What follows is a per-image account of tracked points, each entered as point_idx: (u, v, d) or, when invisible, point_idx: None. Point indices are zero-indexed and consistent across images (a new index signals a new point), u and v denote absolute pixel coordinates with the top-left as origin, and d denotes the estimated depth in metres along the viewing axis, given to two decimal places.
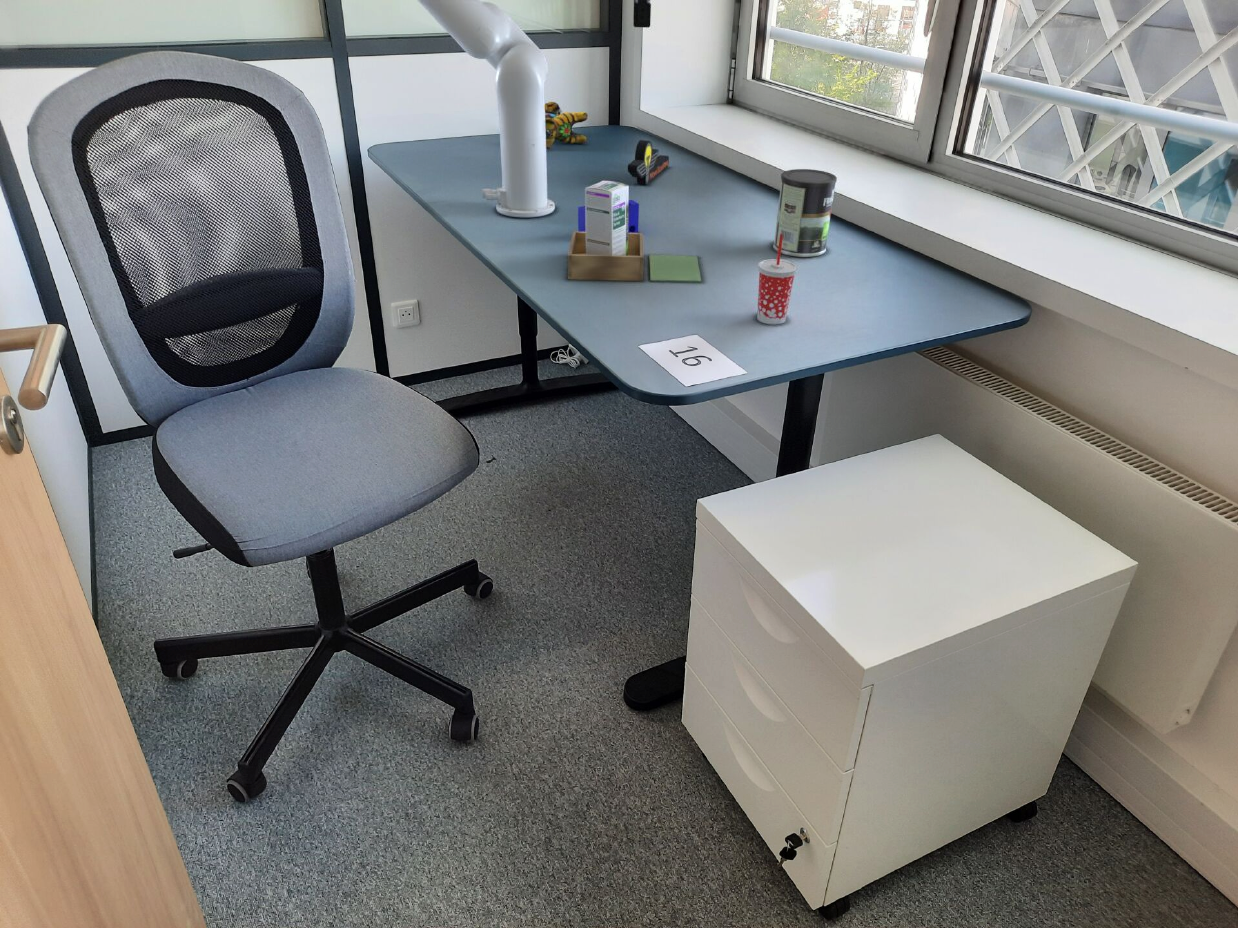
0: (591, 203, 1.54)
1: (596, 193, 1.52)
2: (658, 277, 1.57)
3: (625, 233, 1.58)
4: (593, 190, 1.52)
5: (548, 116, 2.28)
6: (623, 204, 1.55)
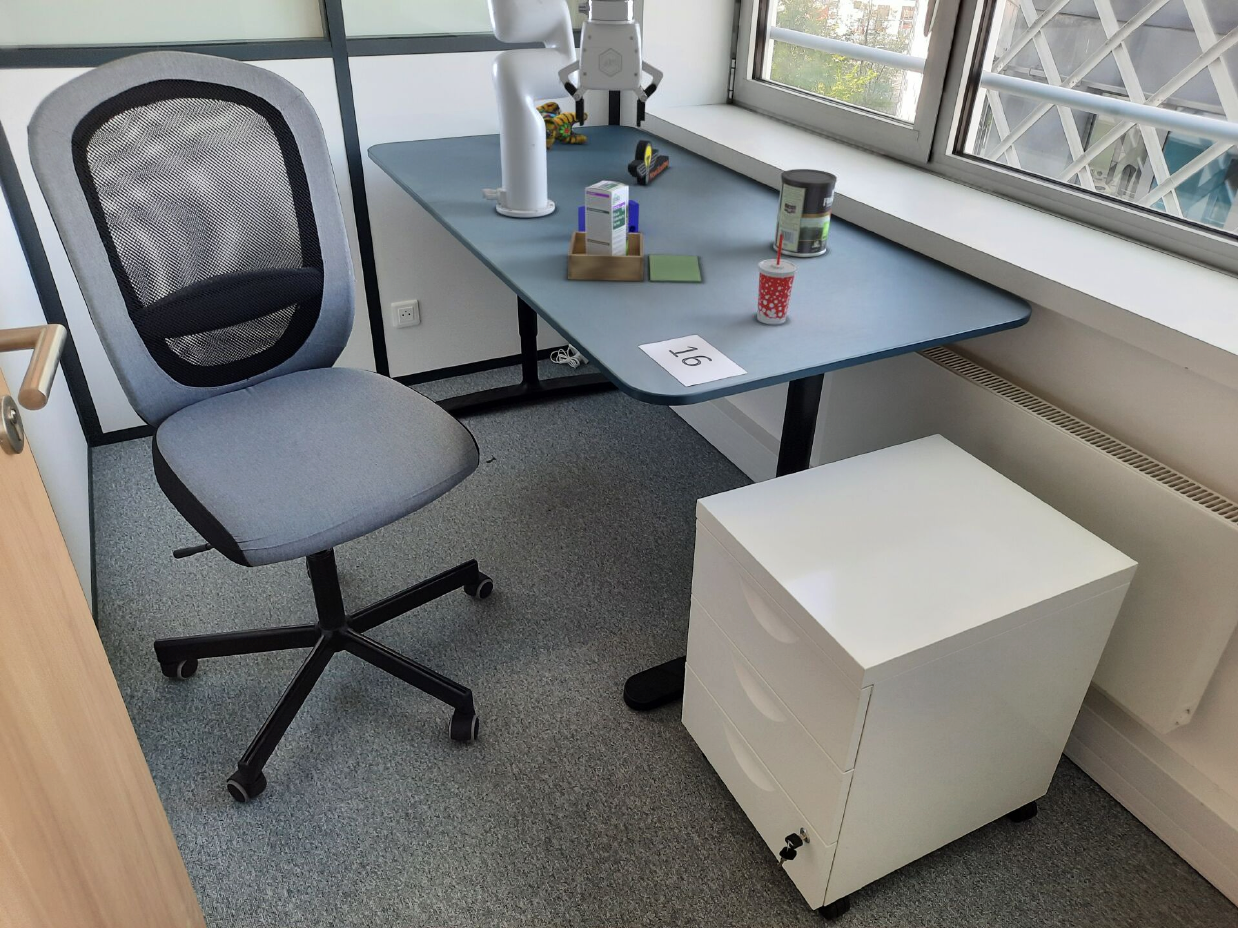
0: (591, 203, 1.54)
1: (596, 193, 1.52)
2: (658, 277, 1.57)
3: (625, 233, 1.58)
4: (593, 190, 1.52)
5: (548, 116, 2.28)
6: (623, 204, 1.55)
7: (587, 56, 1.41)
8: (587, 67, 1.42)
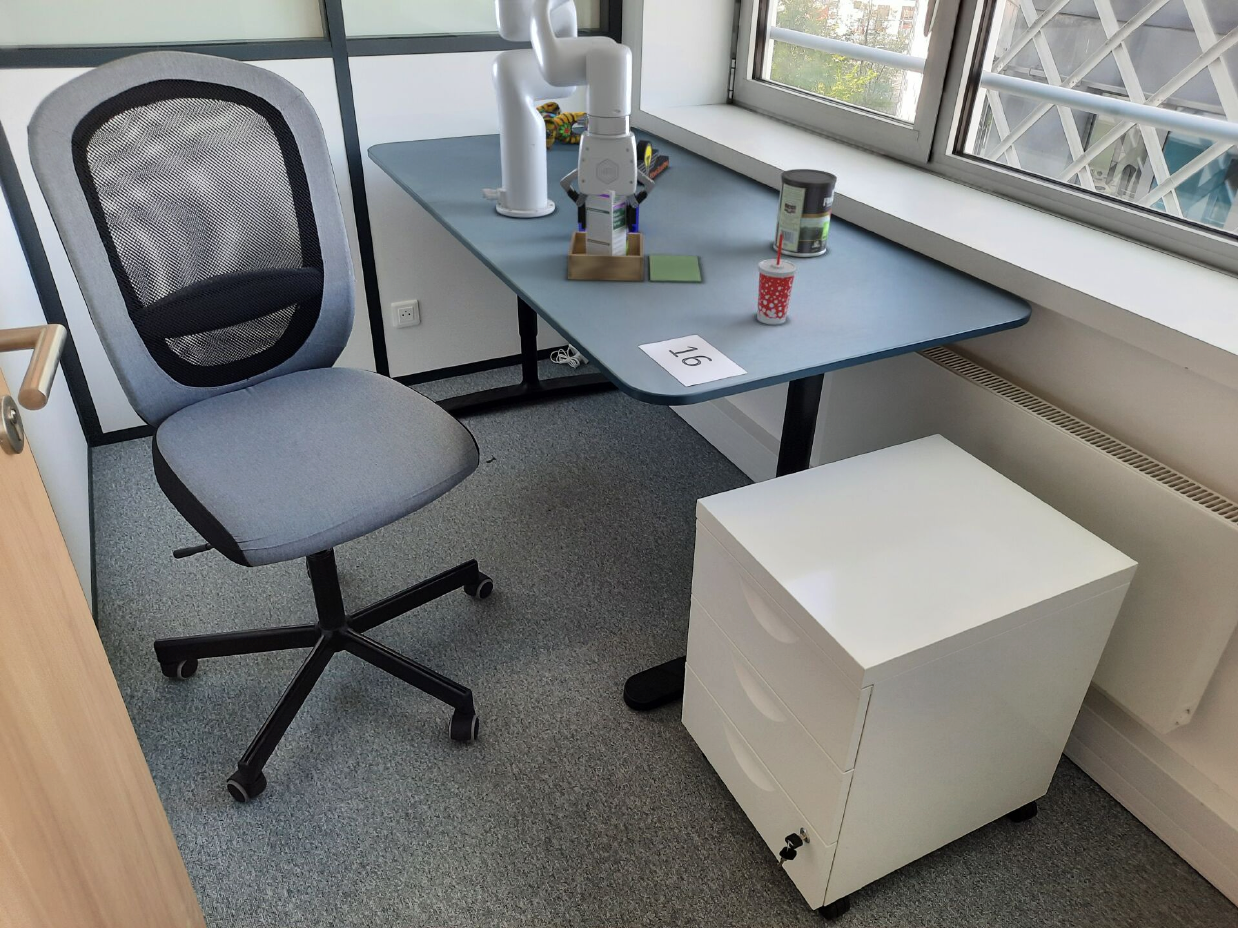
0: (592, 203, 1.54)
1: None
2: (658, 277, 1.57)
3: (625, 233, 1.58)
4: None
5: (548, 116, 2.28)
6: (623, 204, 1.55)
7: (585, 165, 1.49)
8: (585, 175, 1.50)
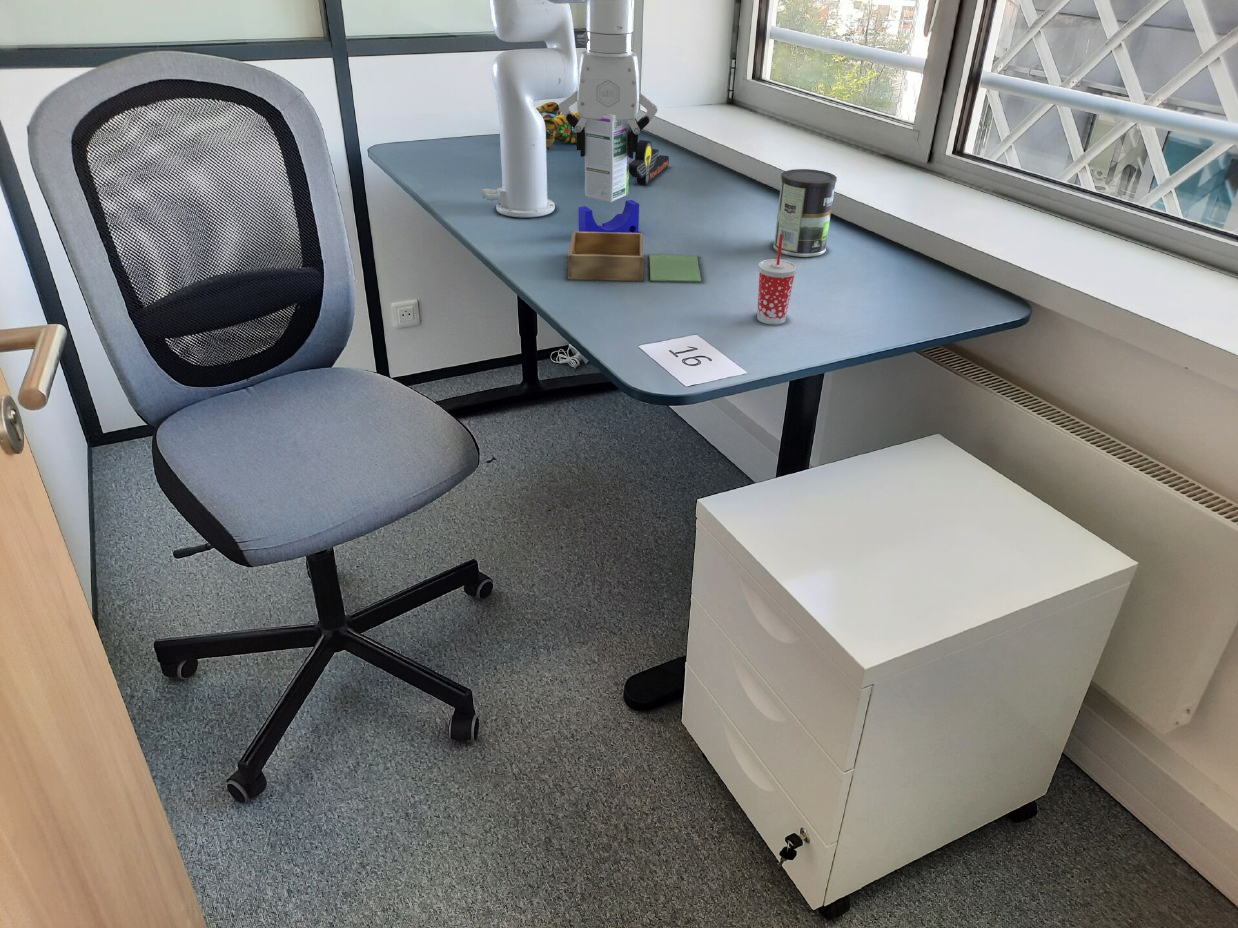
0: (591, 129, 1.47)
1: None
2: (658, 277, 1.57)
3: (626, 162, 1.52)
4: None
5: (548, 116, 2.28)
6: (624, 130, 1.48)
7: (585, 87, 1.43)
8: (585, 97, 1.44)
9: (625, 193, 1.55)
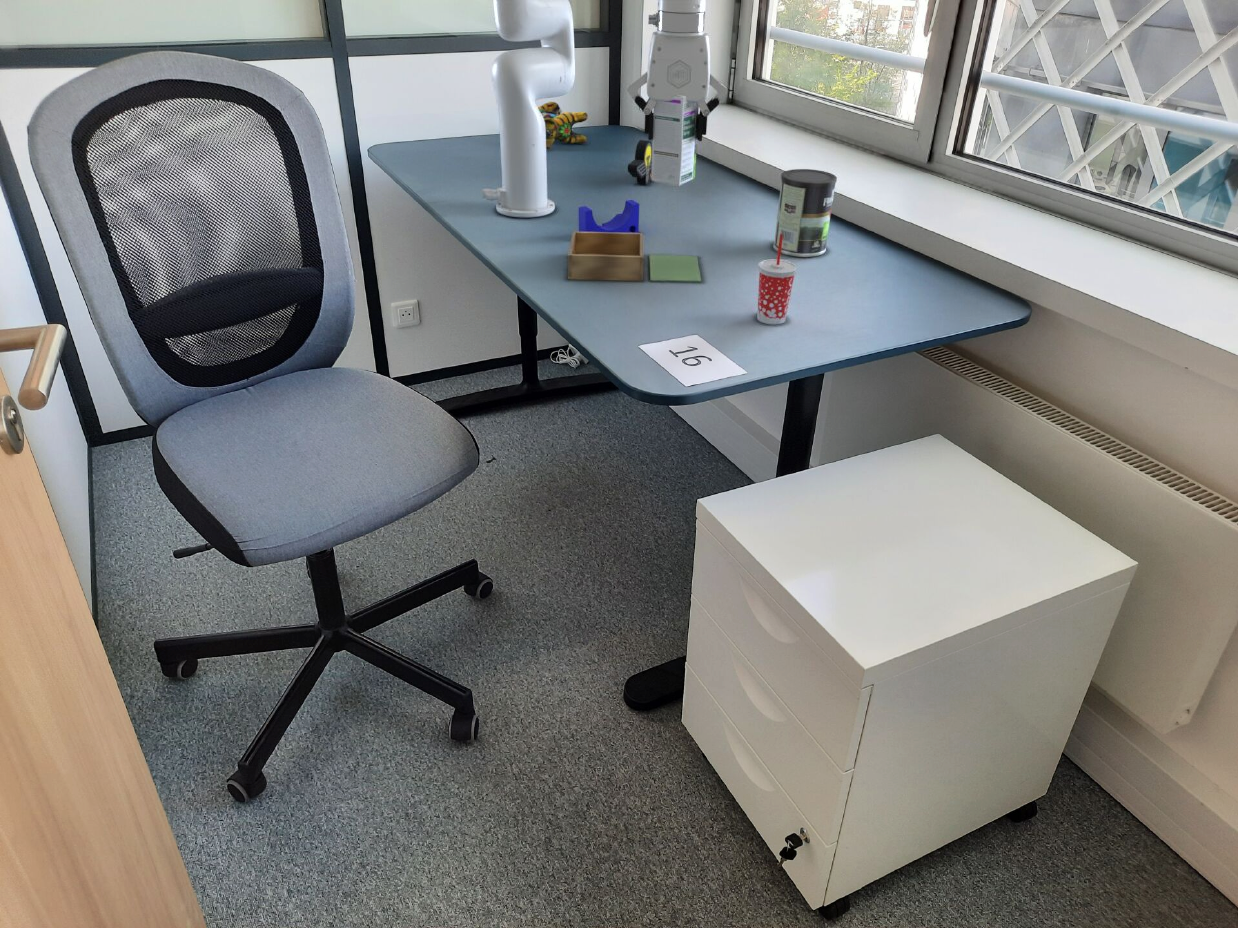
0: (661, 111, 1.45)
1: None
2: (658, 277, 1.57)
3: (694, 145, 1.50)
4: None
5: (548, 116, 2.28)
6: (693, 112, 1.46)
7: (656, 68, 1.41)
8: (656, 78, 1.42)
9: (692, 177, 1.53)
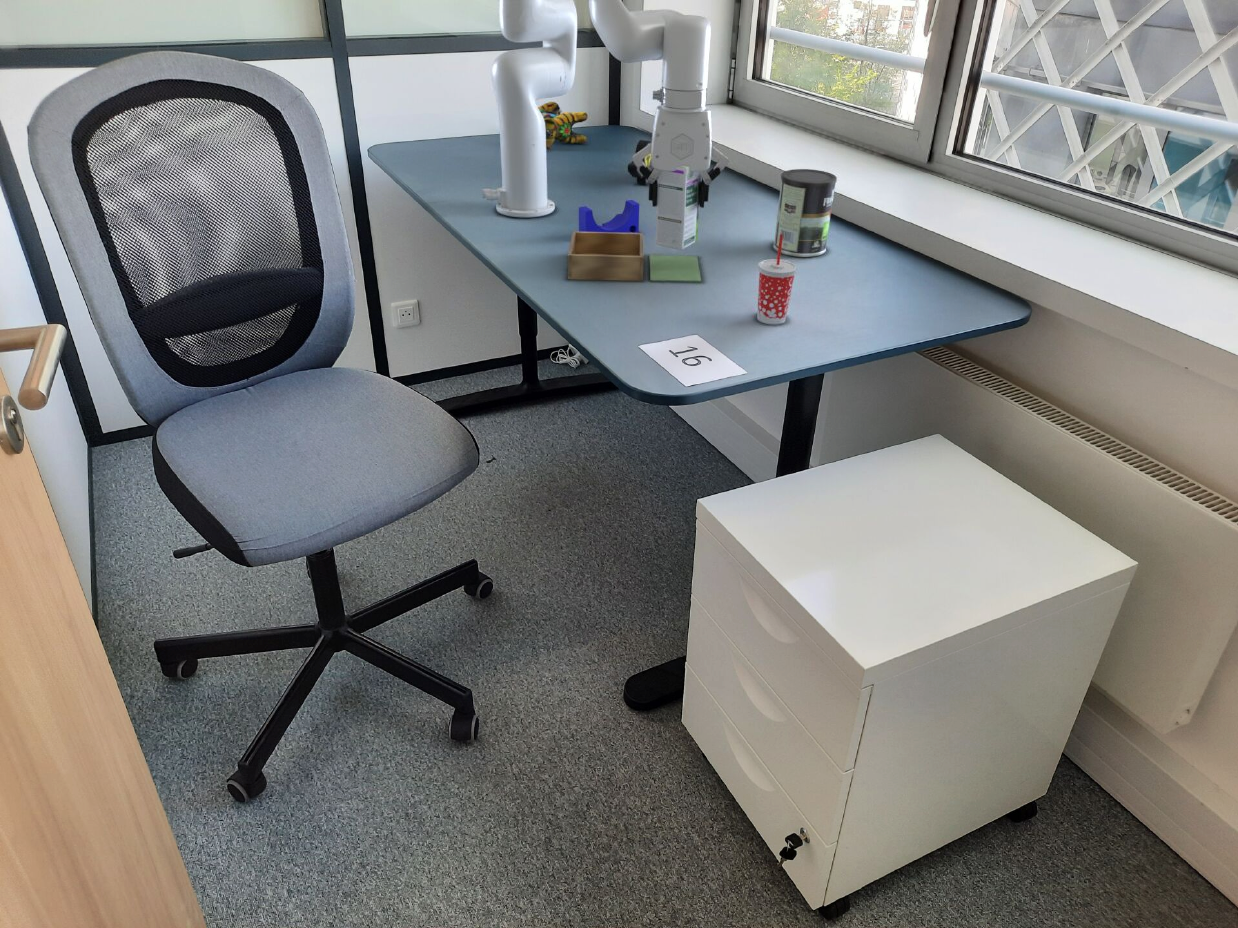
0: (664, 180, 1.51)
1: None
2: (658, 277, 1.57)
3: (696, 211, 1.56)
4: None
5: (548, 116, 2.28)
6: (696, 181, 1.52)
7: (660, 140, 1.47)
8: (660, 150, 1.48)
9: (694, 240, 1.59)
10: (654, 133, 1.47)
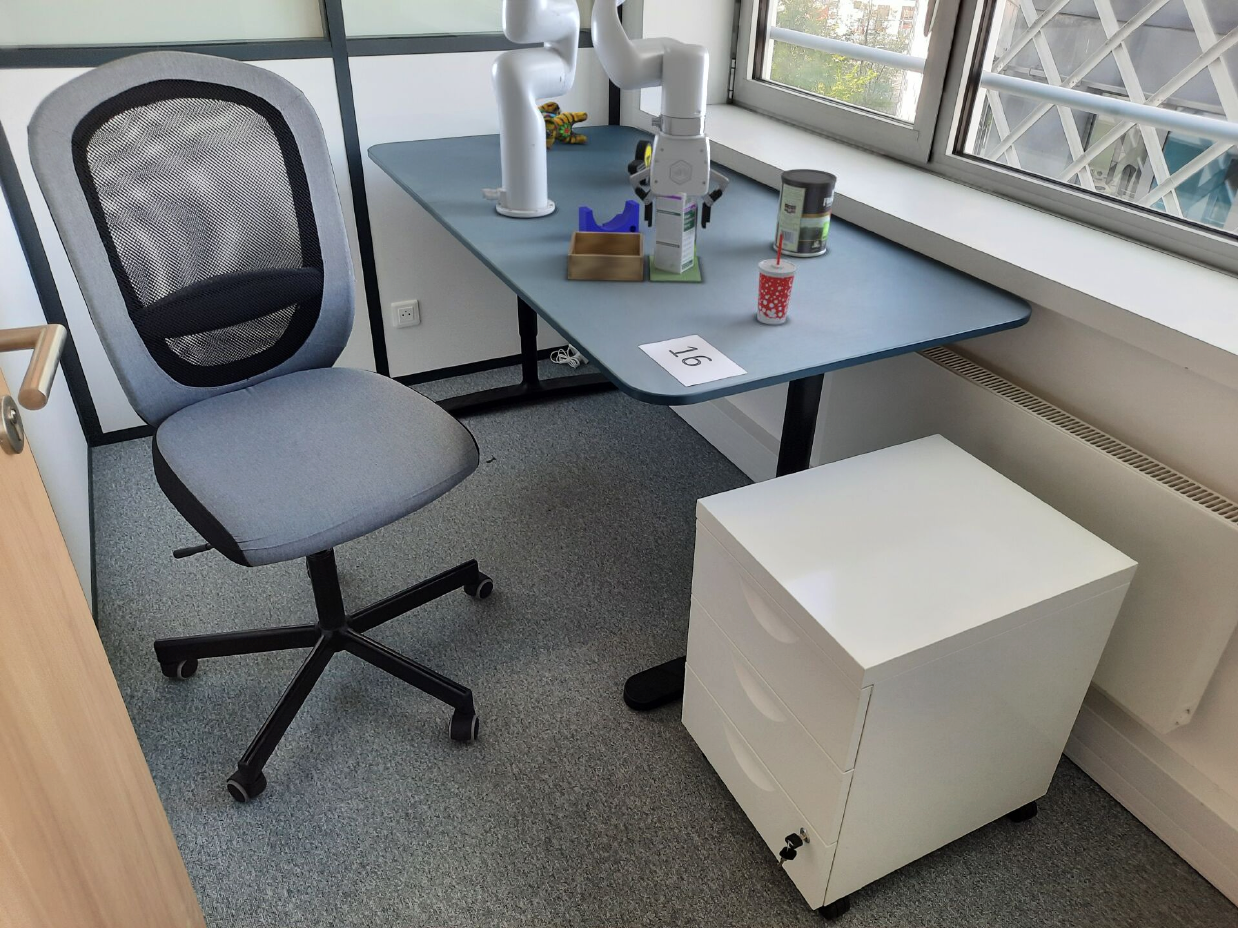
0: (662, 205, 1.54)
1: None
2: (658, 277, 1.57)
3: (694, 235, 1.58)
4: None
5: (548, 116, 2.28)
6: (693, 206, 1.55)
7: (659, 166, 1.49)
8: (658, 175, 1.50)
9: (692, 264, 1.61)
10: (653, 159, 1.49)
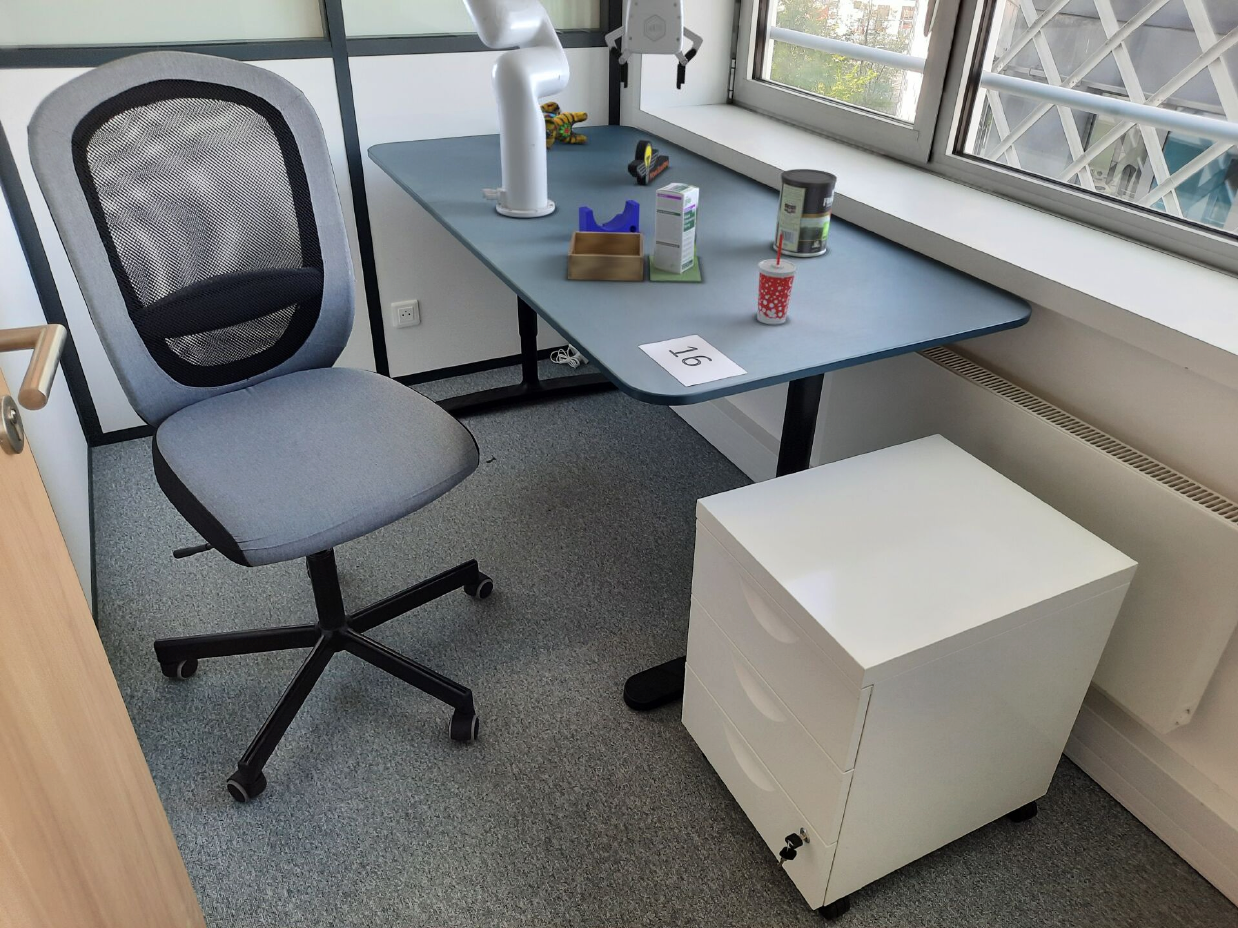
0: (662, 205, 1.54)
1: (667, 195, 1.52)
2: (658, 277, 1.57)
3: (694, 235, 1.58)
4: (665, 192, 1.52)
5: (548, 116, 2.28)
6: (693, 206, 1.55)
7: (633, 22, 1.52)
8: (633, 32, 1.52)
9: (692, 264, 1.61)
10: (627, 14, 1.51)
